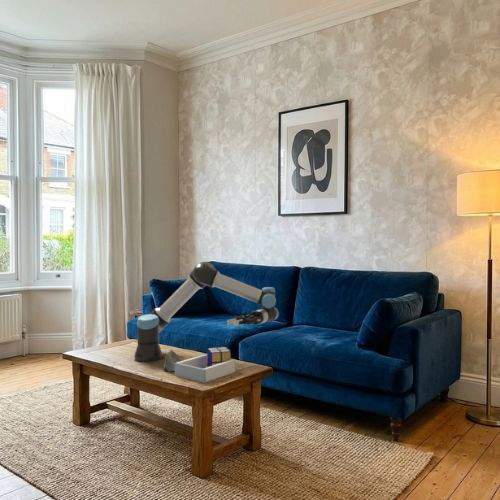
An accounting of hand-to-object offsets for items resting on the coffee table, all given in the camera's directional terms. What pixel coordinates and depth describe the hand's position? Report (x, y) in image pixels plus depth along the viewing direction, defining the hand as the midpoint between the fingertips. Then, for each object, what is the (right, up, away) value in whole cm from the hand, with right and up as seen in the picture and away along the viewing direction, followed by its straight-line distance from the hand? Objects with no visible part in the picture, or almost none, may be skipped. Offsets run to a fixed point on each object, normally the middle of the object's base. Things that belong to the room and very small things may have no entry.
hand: (231, 323), depth 254 cm
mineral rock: (-30, -23, -5) cm, 38 cm away
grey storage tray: (-12, -23, -15) cm, 30 cm away
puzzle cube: (-6, -23, -7) cm, 24 cm away
